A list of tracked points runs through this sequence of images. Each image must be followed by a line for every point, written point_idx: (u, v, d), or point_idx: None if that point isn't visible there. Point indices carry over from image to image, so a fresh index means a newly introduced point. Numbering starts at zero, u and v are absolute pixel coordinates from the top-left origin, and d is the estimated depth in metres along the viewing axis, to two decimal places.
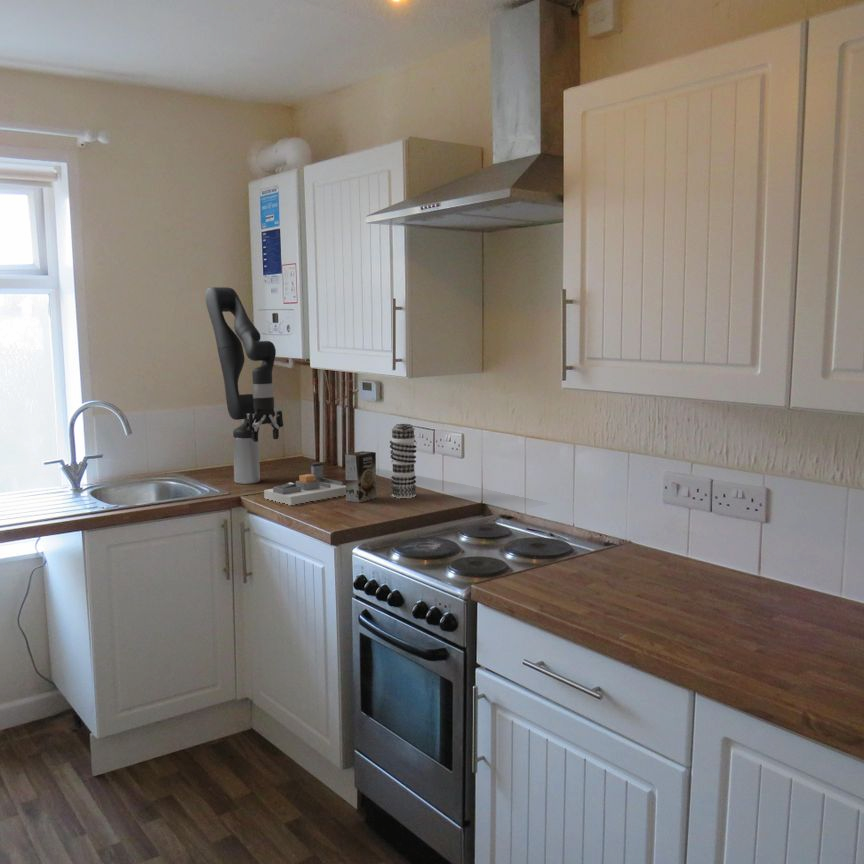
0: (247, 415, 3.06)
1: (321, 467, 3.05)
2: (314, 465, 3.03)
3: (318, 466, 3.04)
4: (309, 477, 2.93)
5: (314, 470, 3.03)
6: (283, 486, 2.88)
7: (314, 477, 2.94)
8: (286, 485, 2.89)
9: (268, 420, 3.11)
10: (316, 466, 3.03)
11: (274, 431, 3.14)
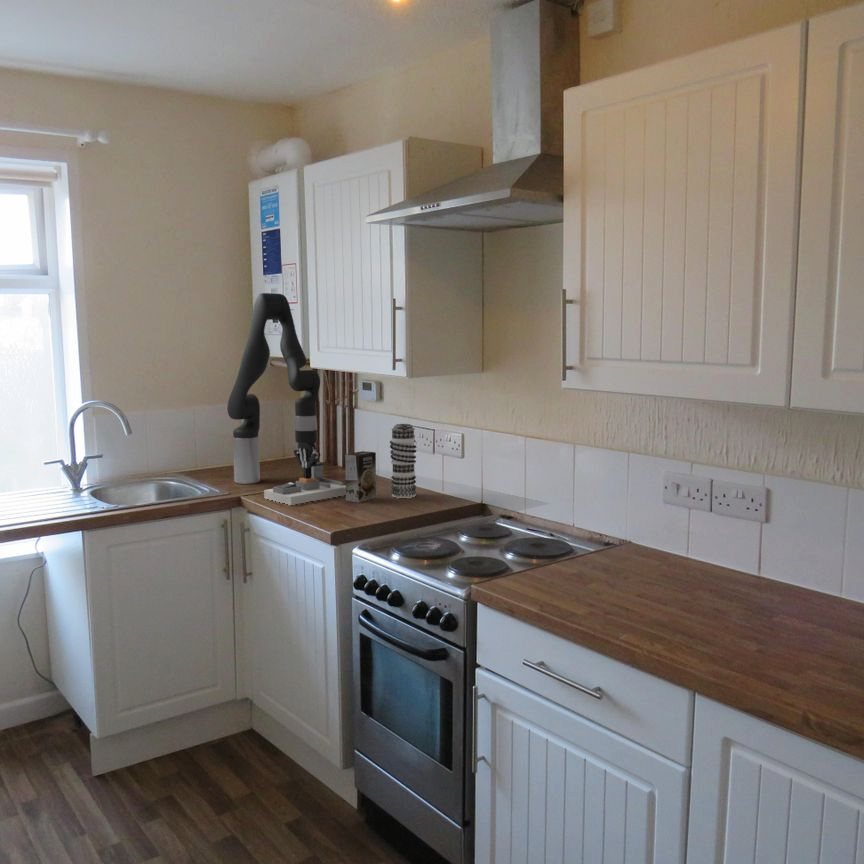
0: (316, 456, 2.89)
1: (321, 467, 3.05)
2: None
3: (318, 466, 3.04)
4: (309, 480, 2.93)
5: (314, 470, 3.03)
6: (283, 486, 2.88)
7: (314, 480, 2.95)
8: (286, 485, 2.89)
9: None
10: (316, 466, 3.03)
11: None
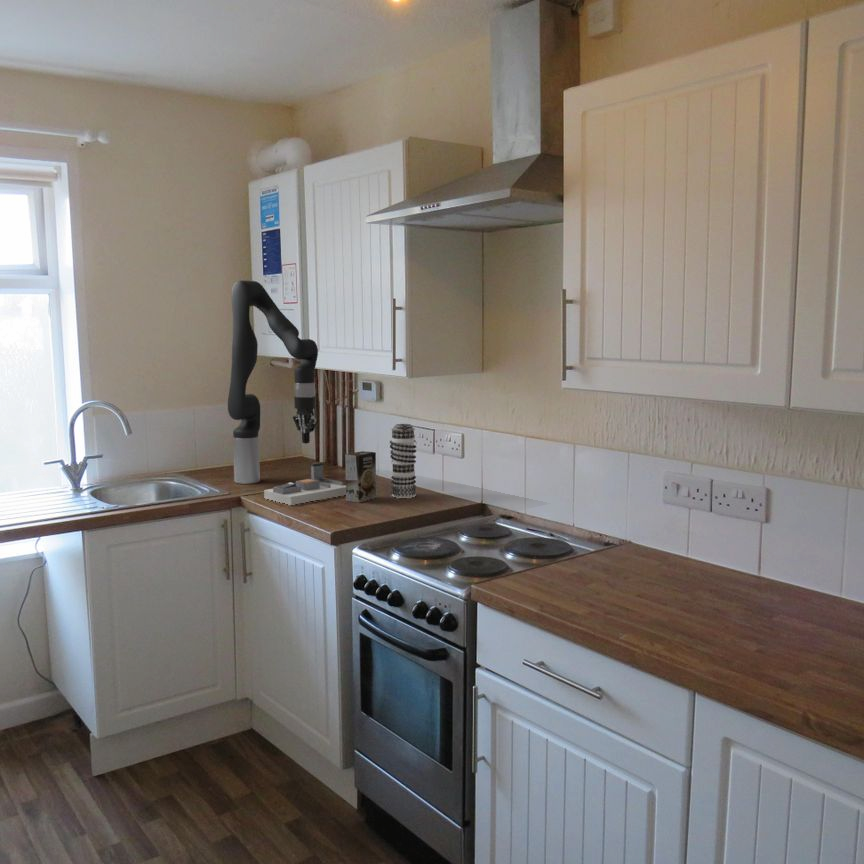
0: (314, 421, 3.02)
1: (321, 467, 3.05)
2: (314, 465, 3.03)
3: (318, 466, 3.04)
4: None
5: (314, 470, 3.03)
6: (283, 486, 2.88)
7: None
8: (286, 485, 2.89)
9: None
10: (316, 466, 3.03)
11: None
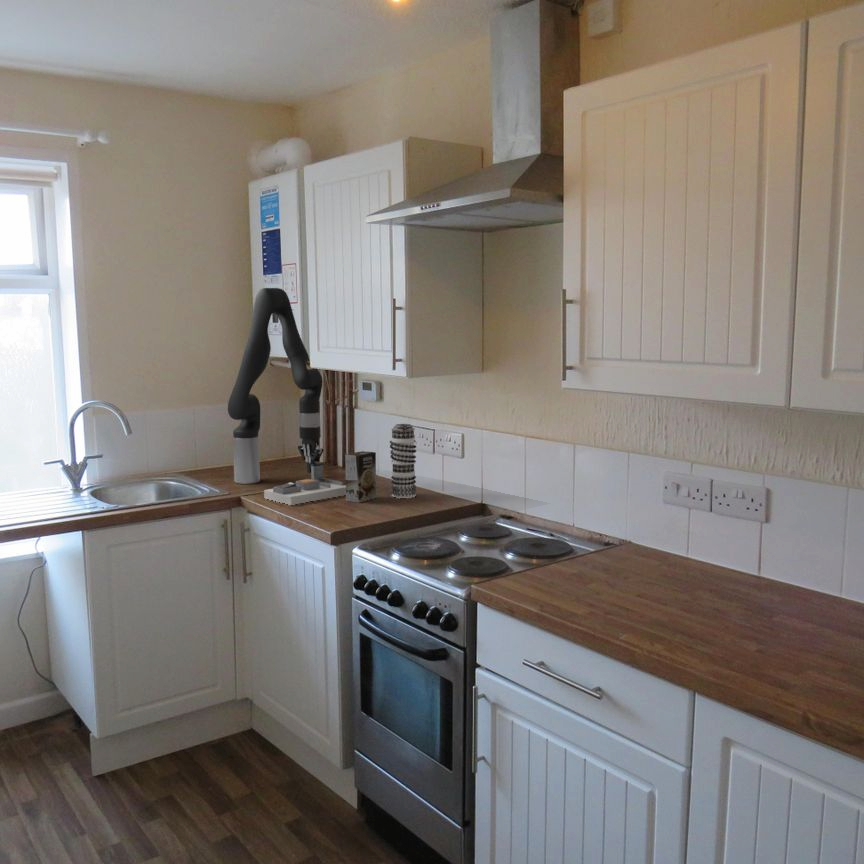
0: (319, 451, 3.02)
1: (321, 467, 3.05)
2: (314, 465, 3.03)
3: (318, 466, 3.04)
4: None
5: (314, 470, 3.03)
6: (283, 486, 2.88)
7: None
8: (286, 485, 2.89)
9: None
10: (316, 466, 3.03)
11: None
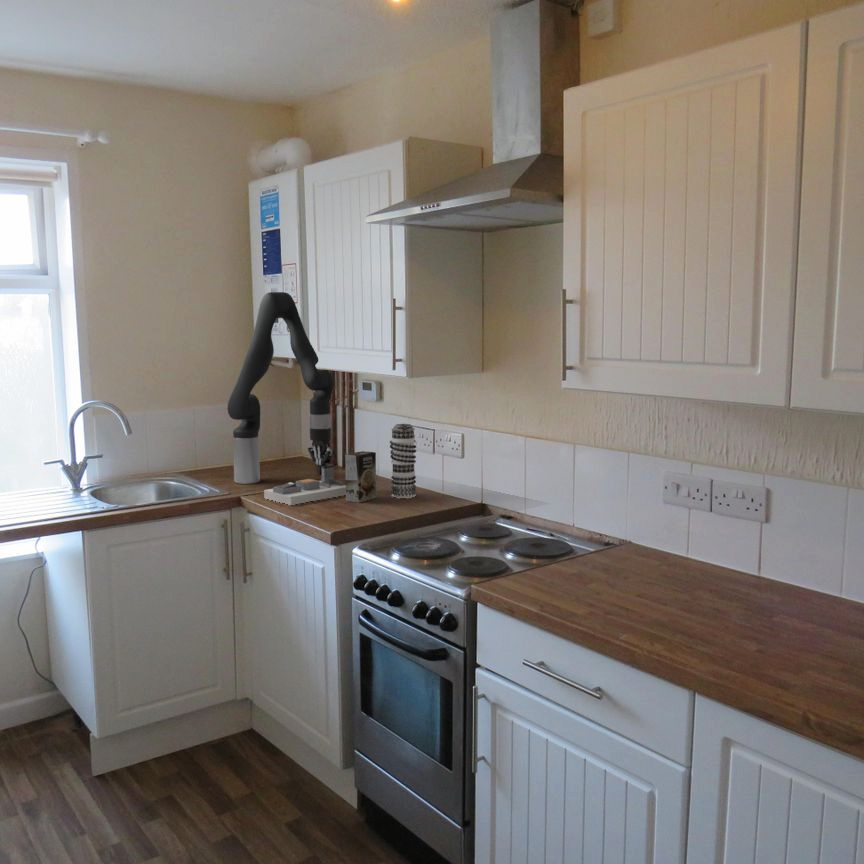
0: (330, 453, 2.98)
1: (332, 469, 3.01)
2: (325, 467, 2.98)
3: (329, 468, 3.00)
4: None
5: (325, 472, 2.99)
6: (283, 486, 2.88)
7: None
8: (286, 485, 2.89)
9: None
10: (327, 468, 2.99)
11: None
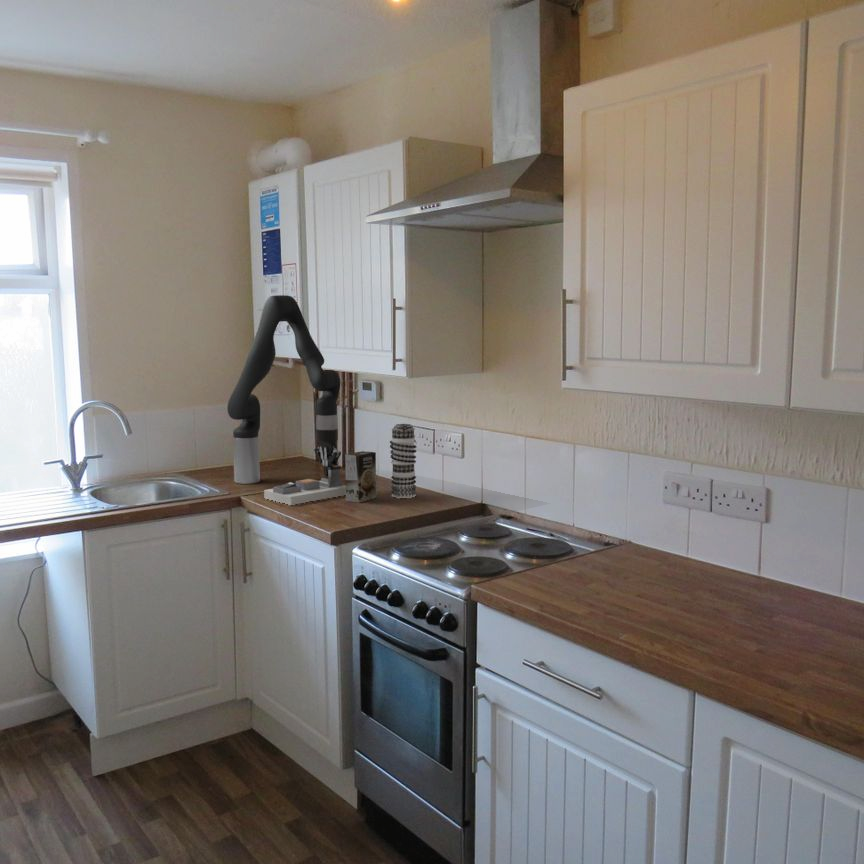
0: (337, 455, 2.95)
1: (338, 470, 2.98)
2: (331, 468, 2.95)
3: (335, 469, 2.97)
4: None
5: (331, 474, 2.96)
6: (283, 486, 2.88)
7: None
8: (286, 485, 2.89)
9: None
10: (333, 469, 2.96)
11: None
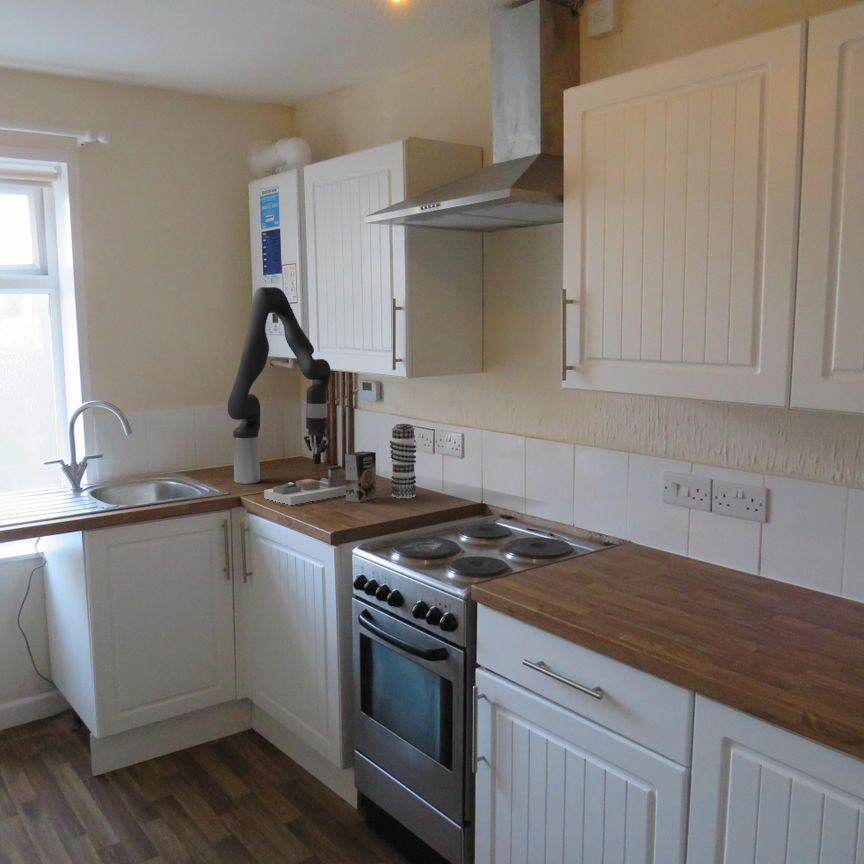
0: (326, 442, 2.99)
1: (338, 470, 2.98)
2: (331, 468, 2.95)
3: (335, 469, 2.97)
4: None
5: (331, 474, 2.96)
6: (283, 486, 2.88)
7: None
8: (286, 485, 2.89)
9: None
10: (333, 469, 2.96)
11: None
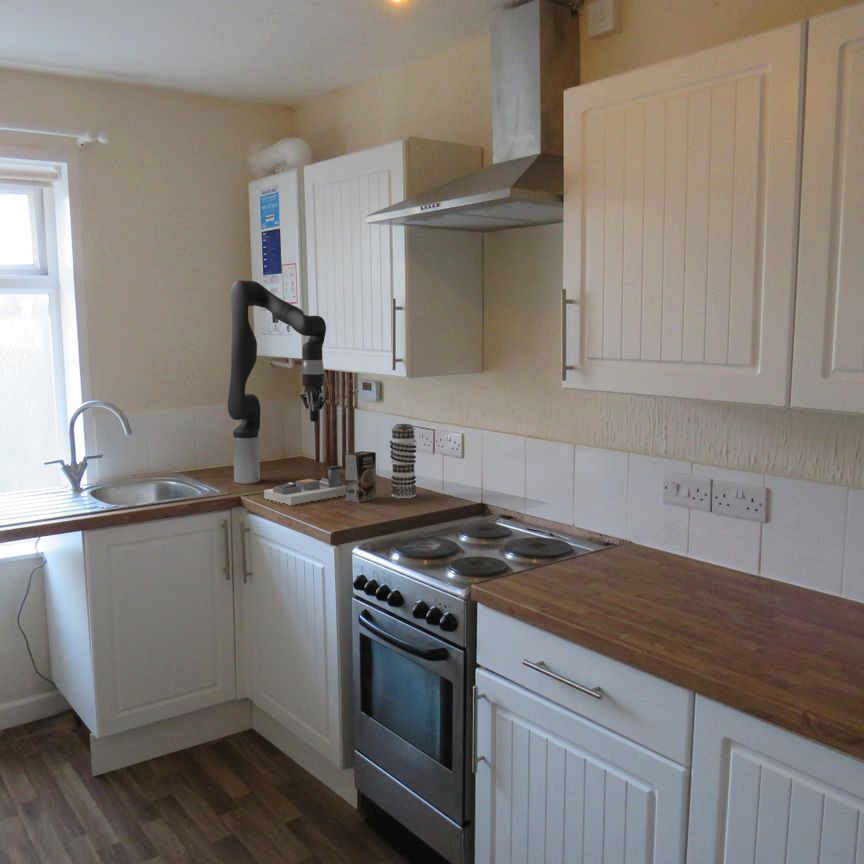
0: (322, 399, 2.98)
1: (338, 470, 2.98)
2: (331, 468, 2.95)
3: (335, 469, 2.97)
4: None
5: (331, 474, 2.96)
6: (283, 486, 2.88)
7: None
8: (286, 485, 2.89)
9: None
10: (333, 469, 2.96)
11: None
